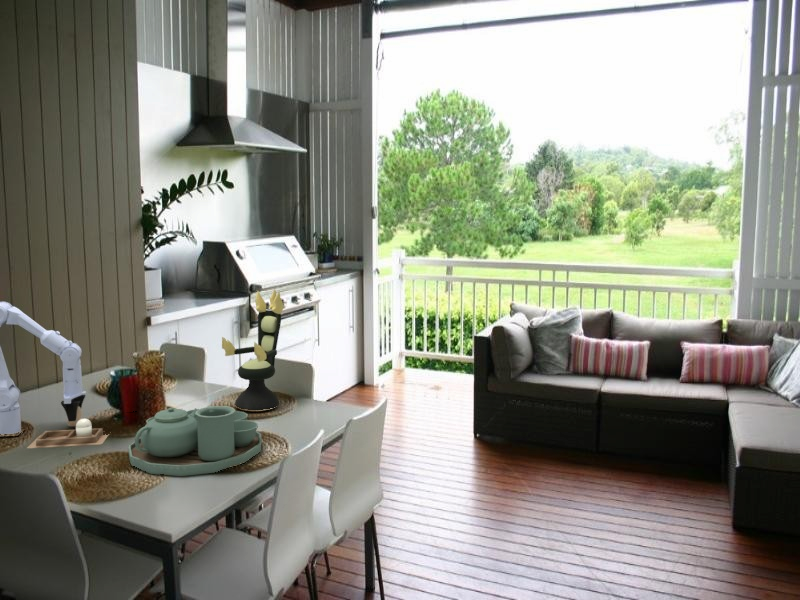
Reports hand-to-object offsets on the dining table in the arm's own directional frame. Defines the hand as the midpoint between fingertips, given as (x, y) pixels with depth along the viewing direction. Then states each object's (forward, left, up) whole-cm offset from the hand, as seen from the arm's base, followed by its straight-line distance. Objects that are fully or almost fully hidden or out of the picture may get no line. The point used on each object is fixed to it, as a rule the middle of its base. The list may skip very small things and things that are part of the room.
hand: (74, 418), depth 226 cm
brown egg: (0, 0, -2) cm, 2 cm away
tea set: (+43, -30, -4) cm, 53 cm away
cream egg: (+6, -13, -3) cm, 15 cm away
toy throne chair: (+62, +18, -4) cm, 65 cm away
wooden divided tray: (+2, -13, -4) cm, 14 cm away
